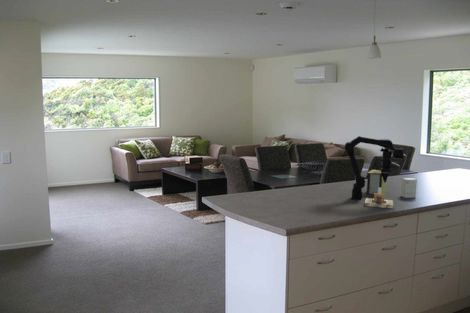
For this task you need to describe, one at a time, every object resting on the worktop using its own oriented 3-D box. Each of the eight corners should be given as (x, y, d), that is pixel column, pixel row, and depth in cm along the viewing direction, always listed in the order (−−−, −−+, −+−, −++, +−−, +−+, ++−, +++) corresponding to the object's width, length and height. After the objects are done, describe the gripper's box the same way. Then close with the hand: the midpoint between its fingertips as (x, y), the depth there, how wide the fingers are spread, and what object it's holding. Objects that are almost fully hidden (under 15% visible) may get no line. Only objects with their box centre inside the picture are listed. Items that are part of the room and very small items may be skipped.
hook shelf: (364, 205, 316) (365, 197, 315) (365, 200, 330) (366, 192, 329) (392, 208, 311) (393, 199, 310) (392, 203, 325) (393, 195, 324)
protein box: (385, 191, 362) (386, 170, 360) (381, 195, 349) (382, 173, 347) (370, 190, 367) (372, 169, 365) (366, 193, 354) (367, 172, 351)
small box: (411, 195, 349) (413, 177, 348) (415, 197, 343) (417, 179, 341) (400, 195, 348) (401, 177, 347) (404, 197, 342) (405, 179, 340)
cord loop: (373, 202, 320) (374, 187, 318) (373, 201, 322) (374, 186, 321) (384, 203, 318) (385, 188, 316) (384, 202, 320) (385, 187, 319)
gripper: (399, 161, 318) (397, 184, 321) (399, 157, 336) (397, 179, 338) (381, 159, 322) (380, 183, 324) (382, 156, 339) (380, 178, 341)
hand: (385, 181), depth 332 cm, fingers open, 9 cm apart
